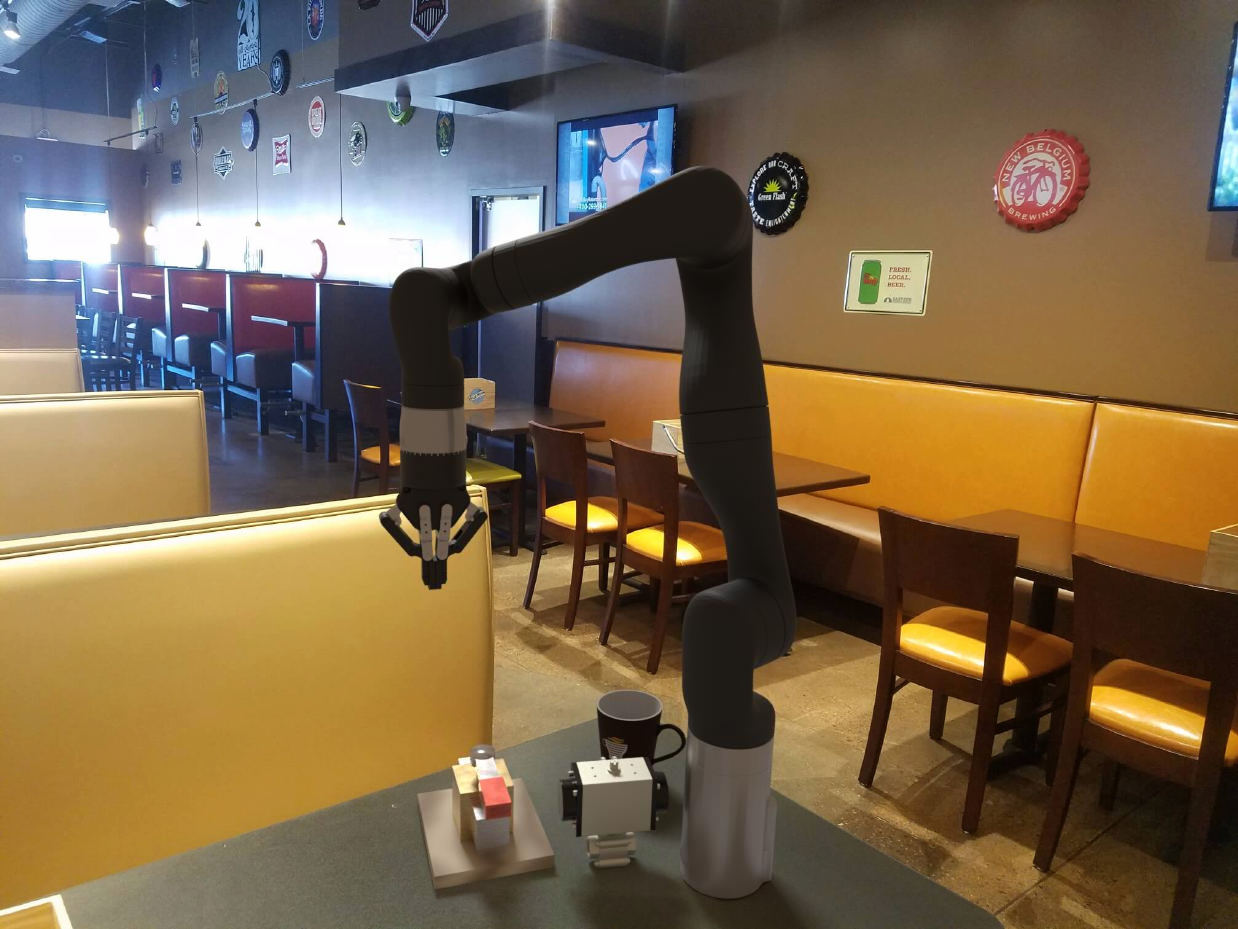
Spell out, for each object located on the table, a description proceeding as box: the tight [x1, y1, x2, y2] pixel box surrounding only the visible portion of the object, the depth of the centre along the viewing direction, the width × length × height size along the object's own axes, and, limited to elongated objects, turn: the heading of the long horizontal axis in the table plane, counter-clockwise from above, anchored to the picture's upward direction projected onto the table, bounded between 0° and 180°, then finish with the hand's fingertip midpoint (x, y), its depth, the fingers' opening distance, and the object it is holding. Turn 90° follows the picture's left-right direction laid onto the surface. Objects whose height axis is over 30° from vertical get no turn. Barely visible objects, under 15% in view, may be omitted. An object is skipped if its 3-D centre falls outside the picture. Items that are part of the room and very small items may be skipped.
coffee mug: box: [596, 689, 687, 768], centre depth 112 cm, size 12×9×10 cm
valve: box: [451, 756, 514, 858], centre depth 100 cm, size 6×13×7 cm, turn 19°
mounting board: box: [416, 777, 555, 890], centre depth 101 cm, size 13×16×2 cm
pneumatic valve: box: [557, 756, 670, 869], centre depth 97 cm, size 6×12×12 cm, turn 101°
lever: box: [469, 744, 511, 820], centre depth 94 cm, size 12×3×2 cm, turn 17°
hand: (434, 587), depth 103 cm, fingers closed
